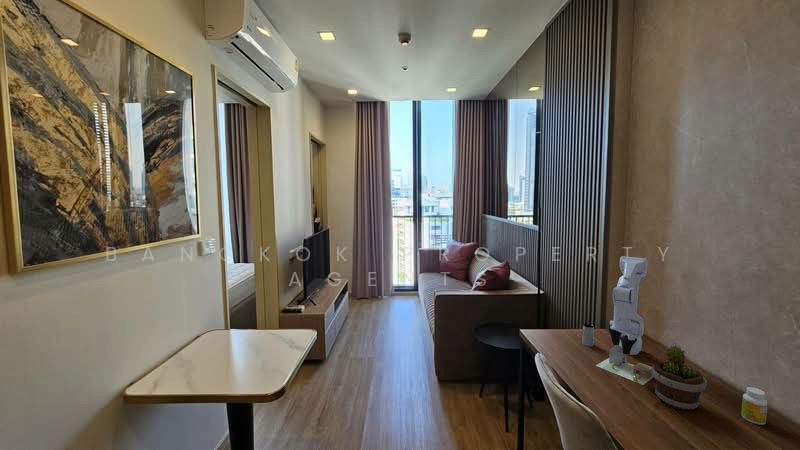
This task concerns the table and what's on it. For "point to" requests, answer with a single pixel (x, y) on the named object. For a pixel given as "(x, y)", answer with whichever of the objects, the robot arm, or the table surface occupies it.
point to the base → (623, 371)
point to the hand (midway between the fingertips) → (620, 349)
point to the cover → (642, 369)
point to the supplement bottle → (754, 406)
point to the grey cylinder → (588, 335)
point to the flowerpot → (678, 381)
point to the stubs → (636, 377)
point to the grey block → (617, 356)
